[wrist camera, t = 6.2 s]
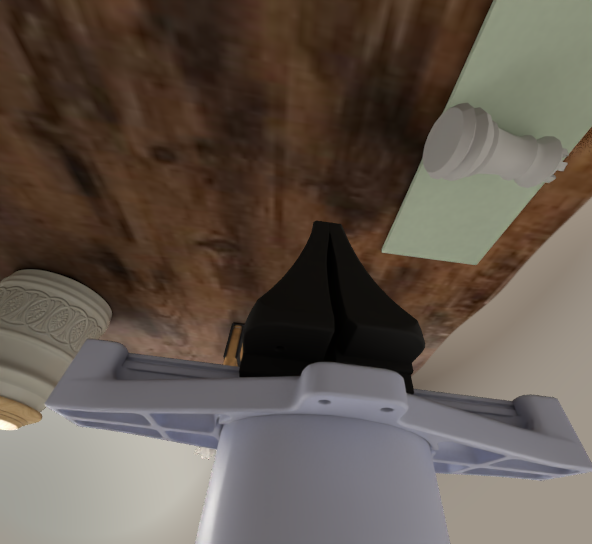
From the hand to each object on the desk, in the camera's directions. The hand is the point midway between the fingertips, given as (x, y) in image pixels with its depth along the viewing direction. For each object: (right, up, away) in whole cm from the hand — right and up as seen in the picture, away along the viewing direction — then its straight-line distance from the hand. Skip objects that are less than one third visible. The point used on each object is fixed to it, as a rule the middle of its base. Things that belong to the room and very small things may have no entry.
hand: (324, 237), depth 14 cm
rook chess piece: (+7, +7, +3) cm, 10 cm away
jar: (-34, -5, +25) cm, 42 cm away
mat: (+13, +7, +7) cm, 16 cm away
